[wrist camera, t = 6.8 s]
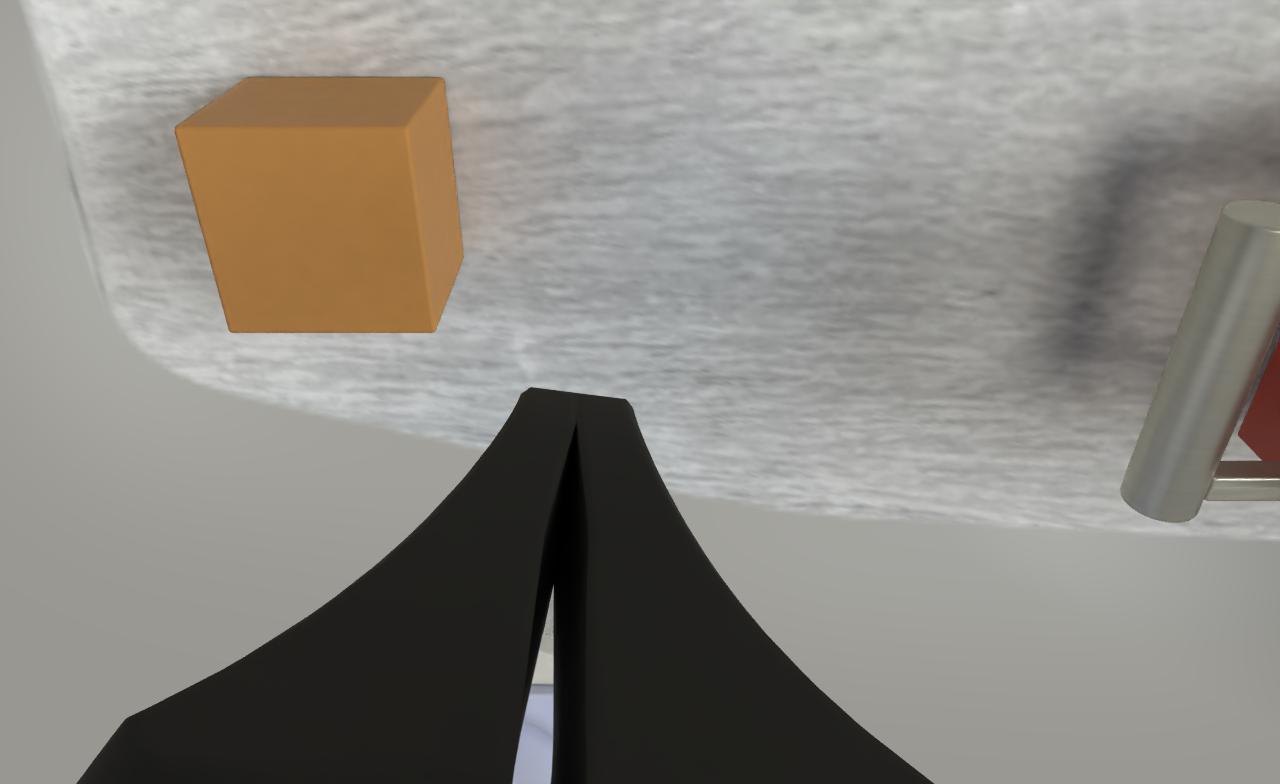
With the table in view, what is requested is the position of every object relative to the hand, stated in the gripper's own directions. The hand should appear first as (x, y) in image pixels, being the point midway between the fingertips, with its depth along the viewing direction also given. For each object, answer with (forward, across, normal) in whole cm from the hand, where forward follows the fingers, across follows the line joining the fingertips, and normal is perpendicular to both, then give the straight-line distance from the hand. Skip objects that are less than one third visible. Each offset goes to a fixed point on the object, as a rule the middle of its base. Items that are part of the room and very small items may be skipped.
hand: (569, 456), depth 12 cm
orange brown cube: (+9, +5, 0) cm, 11 cm away
